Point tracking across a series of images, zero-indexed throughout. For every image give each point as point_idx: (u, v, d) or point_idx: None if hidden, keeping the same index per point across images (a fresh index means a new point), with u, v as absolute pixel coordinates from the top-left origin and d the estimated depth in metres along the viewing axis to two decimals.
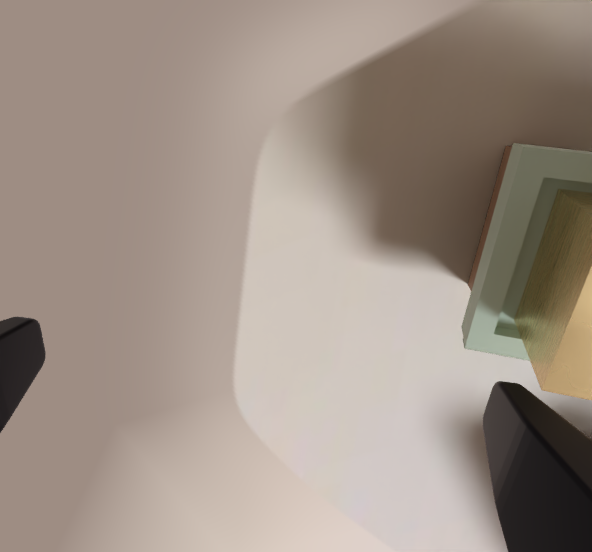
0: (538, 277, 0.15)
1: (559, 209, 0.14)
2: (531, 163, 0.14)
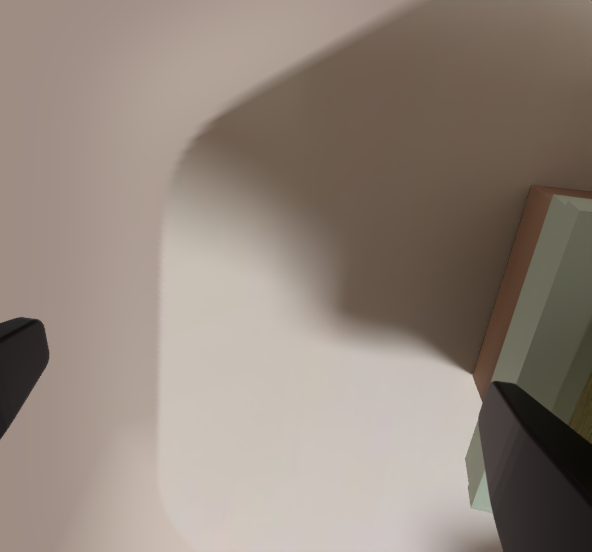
0: None
1: None
2: None
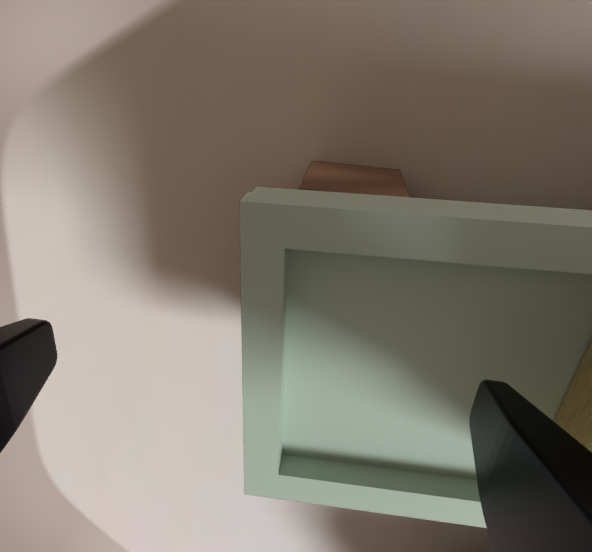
0: (585, 424, 0.08)
1: None
2: (259, 227, 0.08)
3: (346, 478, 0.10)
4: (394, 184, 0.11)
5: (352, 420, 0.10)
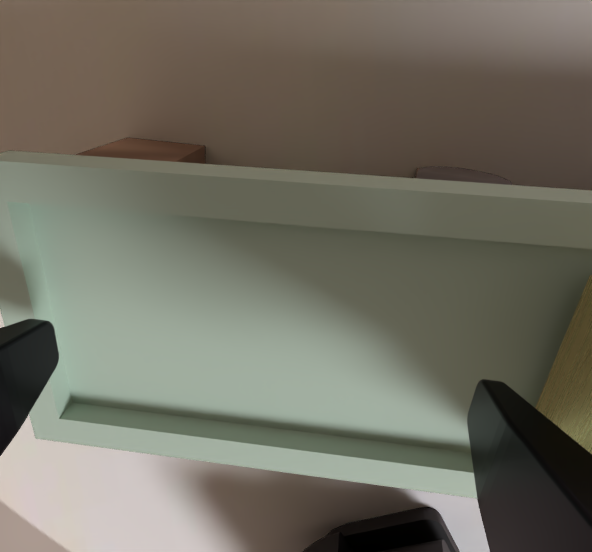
0: (562, 425, 0.09)
1: None
2: None
3: (121, 422, 0.11)
4: (175, 155, 0.12)
5: (123, 368, 0.11)
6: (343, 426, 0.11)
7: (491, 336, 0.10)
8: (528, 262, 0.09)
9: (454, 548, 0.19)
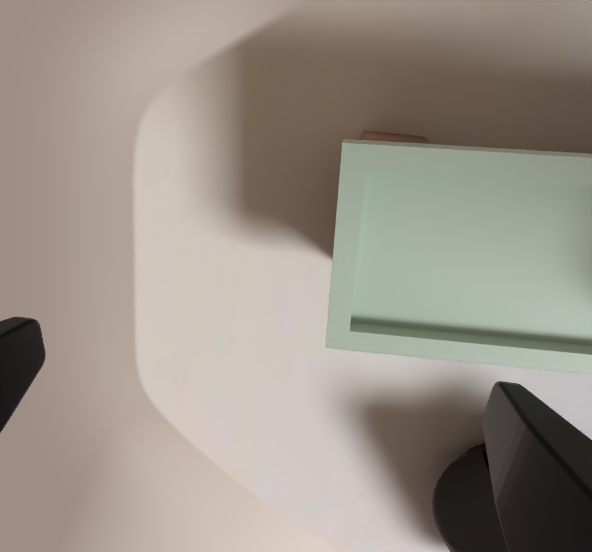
0: None
1: None
2: (352, 159, 0.13)
3: (394, 333, 0.16)
4: (423, 143, 0.17)
5: (398, 294, 0.16)
6: (555, 333, 0.16)
7: None
8: None
9: None
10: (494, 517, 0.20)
